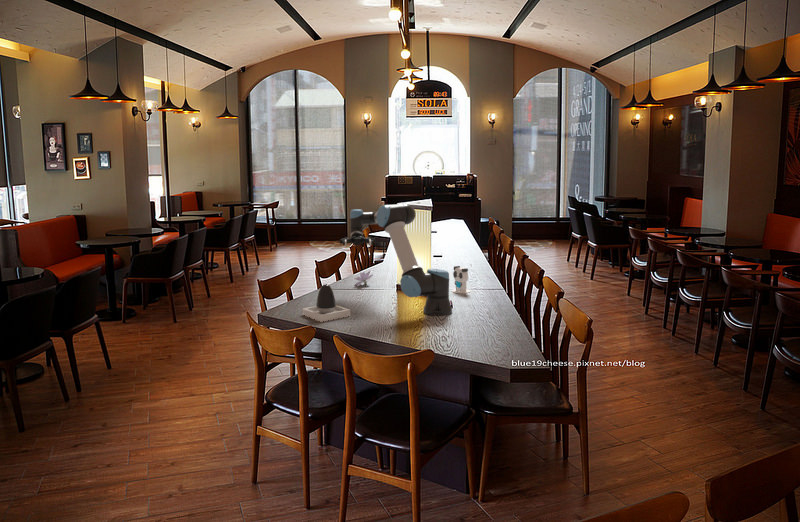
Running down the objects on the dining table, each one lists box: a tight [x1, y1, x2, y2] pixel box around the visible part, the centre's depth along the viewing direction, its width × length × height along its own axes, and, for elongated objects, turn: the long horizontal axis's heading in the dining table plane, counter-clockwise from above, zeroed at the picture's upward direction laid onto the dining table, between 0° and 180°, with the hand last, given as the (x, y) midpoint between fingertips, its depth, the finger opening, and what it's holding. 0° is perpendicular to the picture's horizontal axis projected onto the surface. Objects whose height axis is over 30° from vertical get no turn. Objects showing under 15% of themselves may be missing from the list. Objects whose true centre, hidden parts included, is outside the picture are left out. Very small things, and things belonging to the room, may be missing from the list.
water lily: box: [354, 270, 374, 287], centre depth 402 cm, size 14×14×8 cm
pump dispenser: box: [315, 283, 337, 314], centre depth 329 cm, size 10×10×15 cm
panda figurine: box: [451, 265, 471, 294], centre depth 386 cm, size 12×11×15 cm
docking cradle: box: [302, 304, 351, 323], centre depth 330 cm, size 18×18×4 cm
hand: (358, 243), depth 346 cm, fingers open, 13 cm apart
